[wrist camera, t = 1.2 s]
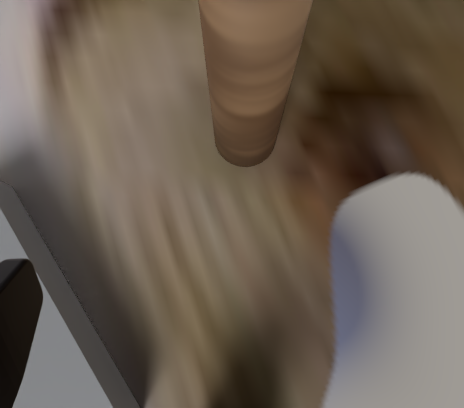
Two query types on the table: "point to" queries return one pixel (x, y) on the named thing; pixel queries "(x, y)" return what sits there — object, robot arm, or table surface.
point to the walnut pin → (250, 70)
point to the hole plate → (58, 329)
